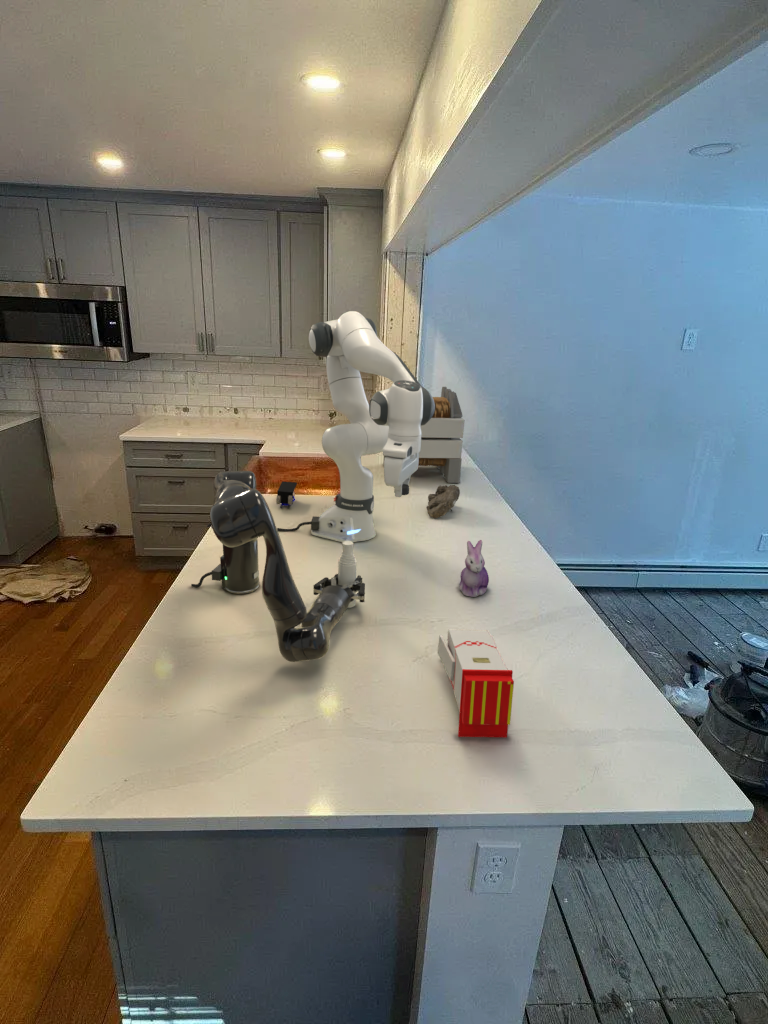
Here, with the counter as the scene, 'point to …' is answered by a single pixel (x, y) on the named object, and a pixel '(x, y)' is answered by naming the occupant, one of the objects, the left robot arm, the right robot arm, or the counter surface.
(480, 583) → the figurine
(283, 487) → the figurine character
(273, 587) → the left robot arm
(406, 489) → the cap
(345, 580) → the bottle
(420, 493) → the counter surface
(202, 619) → the counter surface
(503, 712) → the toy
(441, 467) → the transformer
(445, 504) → the fossil
